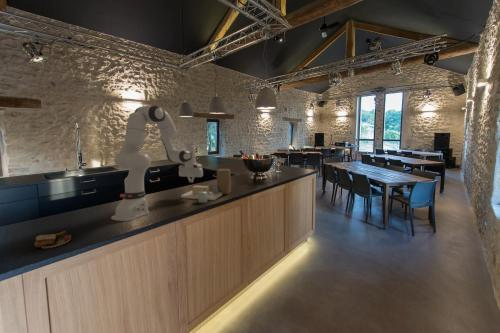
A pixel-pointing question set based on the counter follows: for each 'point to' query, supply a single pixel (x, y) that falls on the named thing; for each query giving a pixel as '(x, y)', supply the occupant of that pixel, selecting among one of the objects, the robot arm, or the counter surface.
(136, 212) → the robot arm
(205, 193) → the sage green capsule
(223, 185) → the wooden block
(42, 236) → the toy sandwich meal
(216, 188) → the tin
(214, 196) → the white tray
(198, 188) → the carton
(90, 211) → the counter surface
